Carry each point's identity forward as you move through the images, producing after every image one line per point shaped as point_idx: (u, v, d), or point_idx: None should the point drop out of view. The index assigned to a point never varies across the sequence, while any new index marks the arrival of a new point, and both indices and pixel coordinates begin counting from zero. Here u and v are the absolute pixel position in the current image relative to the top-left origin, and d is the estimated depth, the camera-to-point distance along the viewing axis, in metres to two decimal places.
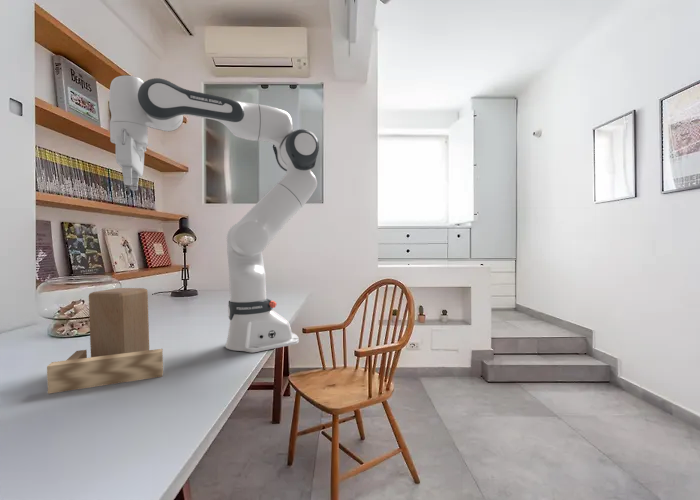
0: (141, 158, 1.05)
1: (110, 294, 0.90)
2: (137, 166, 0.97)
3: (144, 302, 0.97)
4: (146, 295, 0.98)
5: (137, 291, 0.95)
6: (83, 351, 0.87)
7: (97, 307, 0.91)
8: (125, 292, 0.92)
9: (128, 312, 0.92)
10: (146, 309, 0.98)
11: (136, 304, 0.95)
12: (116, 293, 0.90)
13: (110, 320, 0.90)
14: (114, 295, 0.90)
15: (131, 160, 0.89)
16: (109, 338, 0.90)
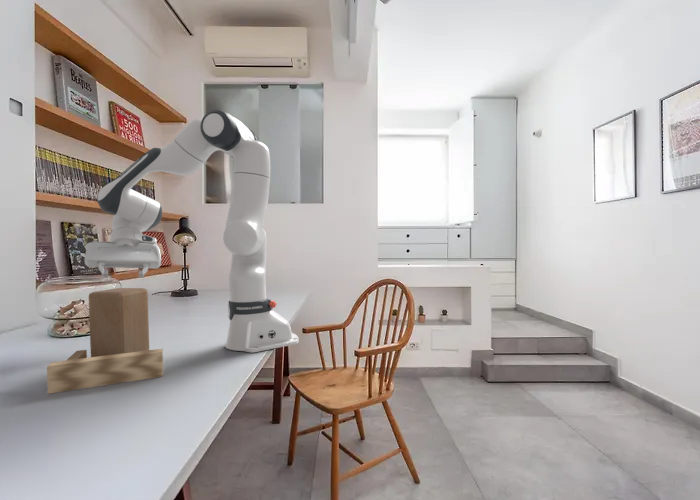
0: (152, 249, 1.16)
1: (110, 294, 0.90)
2: (120, 258, 1.09)
3: (144, 302, 0.97)
4: (146, 295, 0.98)
5: (137, 291, 0.95)
6: (83, 351, 0.87)
7: (97, 307, 0.91)
8: (125, 292, 0.92)
9: (127, 312, 0.92)
10: (146, 309, 0.98)
11: (136, 304, 0.95)
12: (116, 293, 0.90)
13: (110, 320, 0.90)
14: (114, 295, 0.90)
15: (86, 257, 1.05)
16: (109, 338, 0.90)
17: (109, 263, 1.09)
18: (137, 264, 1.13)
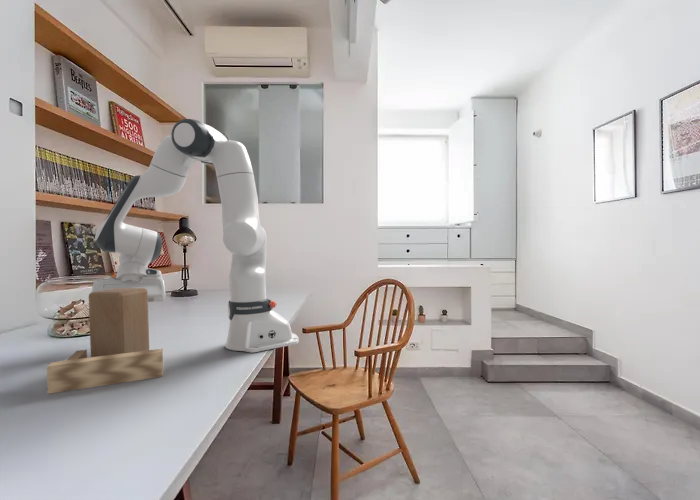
0: (156, 282, 1.15)
1: (110, 294, 0.90)
2: None
3: (144, 302, 0.97)
4: (146, 295, 0.98)
5: (137, 291, 0.95)
6: (83, 351, 0.87)
7: (97, 307, 0.91)
8: (125, 292, 0.92)
9: (127, 312, 0.92)
10: (146, 309, 0.98)
11: (136, 304, 0.95)
12: (116, 293, 0.90)
13: (110, 320, 0.90)
14: (114, 295, 0.90)
15: None
16: (109, 338, 0.90)
17: None
18: None
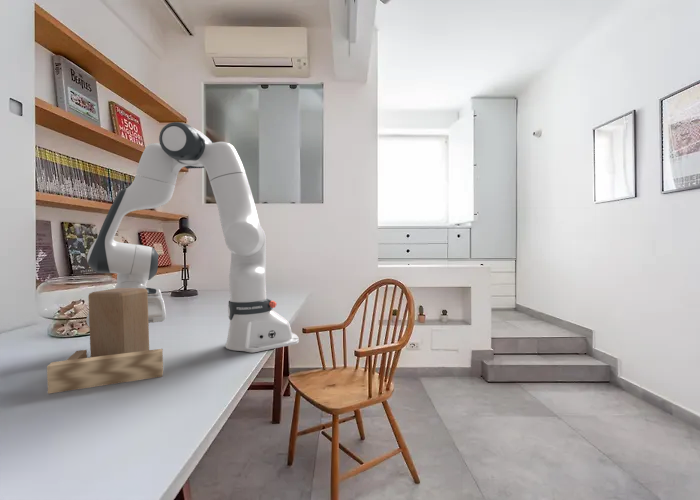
0: (155, 302, 1.10)
1: (110, 294, 0.90)
2: None
3: (144, 302, 0.97)
4: (146, 295, 0.98)
5: (137, 291, 0.95)
6: (83, 351, 0.87)
7: (97, 307, 0.91)
8: (125, 292, 0.92)
9: (127, 312, 0.92)
10: (146, 309, 0.98)
11: (136, 304, 0.95)
12: (116, 293, 0.90)
13: (110, 320, 0.90)
14: (114, 295, 0.90)
15: (87, 320, 1.01)
16: (109, 338, 0.90)
17: None
18: None
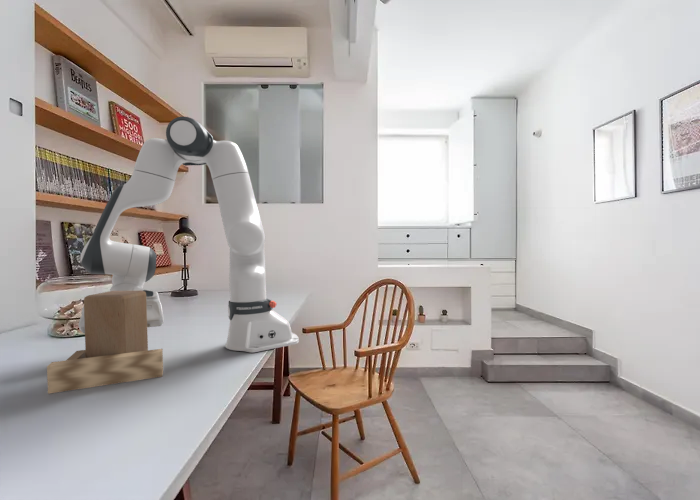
0: (153, 305, 1.04)
1: (110, 297, 0.84)
2: None
3: (143, 305, 0.92)
4: (145, 298, 0.93)
5: (137, 294, 0.90)
6: (83, 351, 0.87)
7: (94, 311, 0.85)
8: (126, 295, 0.87)
9: (129, 315, 0.87)
10: (145, 312, 0.93)
11: (136, 307, 0.90)
12: (117, 296, 0.85)
13: (110, 325, 0.84)
14: (115, 298, 0.84)
15: (79, 324, 0.94)
16: (109, 344, 0.85)
17: None
18: None
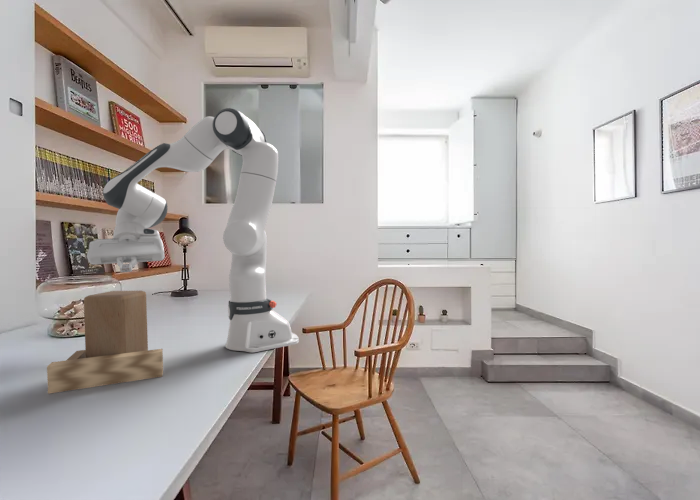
0: (154, 242, 1.13)
1: (110, 297, 0.85)
2: (121, 252, 1.07)
3: (143, 305, 0.92)
4: (145, 298, 0.93)
5: (137, 294, 0.90)
6: (83, 351, 0.87)
7: (94, 311, 0.85)
8: (126, 295, 0.87)
9: (129, 316, 0.87)
10: (145, 313, 0.93)
11: (136, 307, 0.90)
12: (117, 296, 0.85)
13: (110, 325, 0.84)
14: (115, 298, 0.84)
15: (88, 255, 1.03)
16: (109, 344, 0.85)
17: (112, 259, 1.07)
18: (140, 258, 1.10)
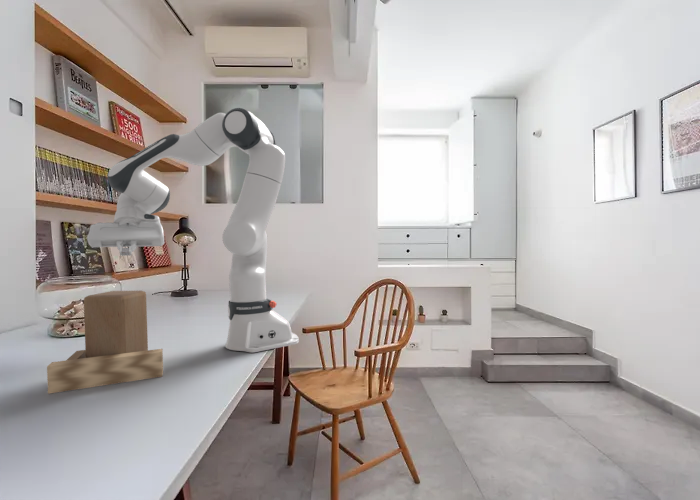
0: (154, 227, 1.13)
1: (110, 297, 0.85)
2: (122, 236, 1.07)
3: (143, 305, 0.92)
4: (145, 298, 0.93)
5: (137, 294, 0.90)
6: (83, 351, 0.87)
7: (94, 311, 0.85)
8: (126, 295, 0.87)
9: (129, 316, 0.87)
10: (145, 313, 0.93)
11: (136, 307, 0.90)
12: (117, 296, 0.85)
13: (110, 325, 0.84)
14: (115, 298, 0.84)
15: (88, 237, 1.04)
16: (109, 344, 0.85)
17: (112, 242, 1.08)
18: (140, 242, 1.11)
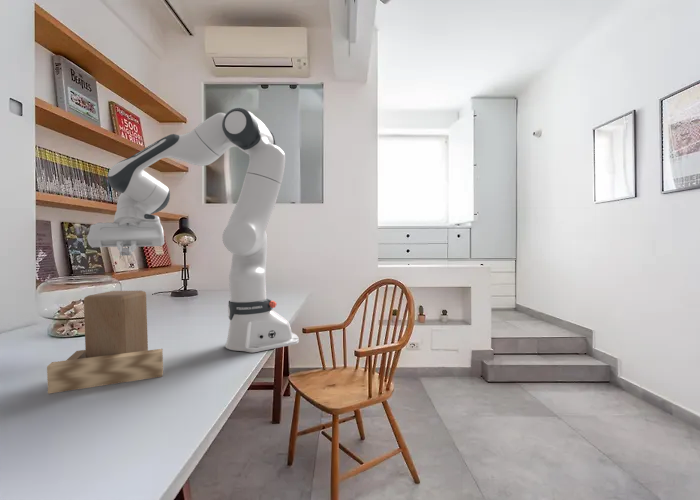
0: (154, 227, 1.13)
1: (110, 297, 0.85)
2: (122, 236, 1.07)
3: (143, 305, 0.92)
4: (145, 298, 0.93)
5: (137, 294, 0.90)
6: (83, 351, 0.87)
7: (94, 311, 0.85)
8: (126, 295, 0.87)
9: (129, 316, 0.87)
10: (145, 313, 0.93)
11: (136, 307, 0.90)
12: (117, 296, 0.85)
13: (110, 325, 0.84)
14: (115, 298, 0.84)
15: (88, 237, 1.04)
16: (109, 344, 0.85)
17: (112, 242, 1.08)
18: (140, 242, 1.11)
